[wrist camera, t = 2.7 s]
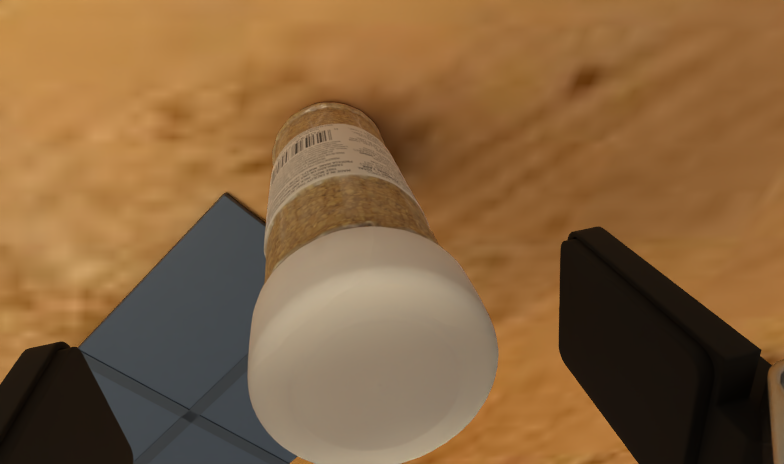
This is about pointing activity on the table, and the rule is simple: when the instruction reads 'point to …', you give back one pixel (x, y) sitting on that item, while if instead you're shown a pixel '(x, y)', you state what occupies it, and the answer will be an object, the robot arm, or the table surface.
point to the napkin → (189, 349)
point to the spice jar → (359, 305)
